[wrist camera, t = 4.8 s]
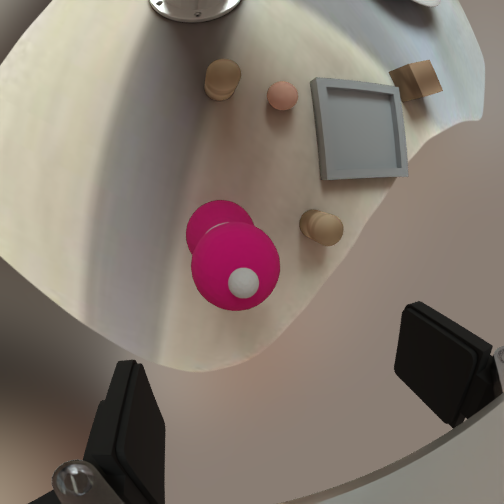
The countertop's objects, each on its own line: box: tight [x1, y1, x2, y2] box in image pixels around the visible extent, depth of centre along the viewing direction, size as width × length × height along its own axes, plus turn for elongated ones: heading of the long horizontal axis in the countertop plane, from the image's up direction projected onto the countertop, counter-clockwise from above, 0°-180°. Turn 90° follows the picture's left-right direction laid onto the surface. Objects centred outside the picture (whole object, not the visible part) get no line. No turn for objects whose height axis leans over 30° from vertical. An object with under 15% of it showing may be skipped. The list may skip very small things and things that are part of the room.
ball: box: [267, 81, 298, 110], centre depth 31 cm, size 4×4×4 cm
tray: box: [310, 77, 408, 180], centre depth 35 cm, size 13×13×2 cm
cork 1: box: [204, 59, 241, 101], centre depth 29 cm, size 4×4×5 cm
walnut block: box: [389, 60, 443, 102], centre depth 33 cm, size 5×5×5 cm
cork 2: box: [300, 210, 343, 246], centre depth 35 cm, size 4×4×5 cm
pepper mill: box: [186, 200, 280, 311], centre depth 26 cm, size 7×7×20 cm
